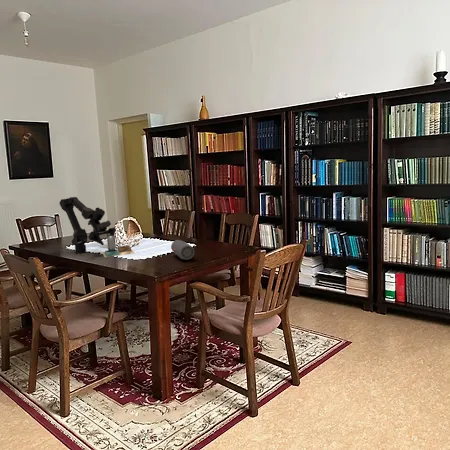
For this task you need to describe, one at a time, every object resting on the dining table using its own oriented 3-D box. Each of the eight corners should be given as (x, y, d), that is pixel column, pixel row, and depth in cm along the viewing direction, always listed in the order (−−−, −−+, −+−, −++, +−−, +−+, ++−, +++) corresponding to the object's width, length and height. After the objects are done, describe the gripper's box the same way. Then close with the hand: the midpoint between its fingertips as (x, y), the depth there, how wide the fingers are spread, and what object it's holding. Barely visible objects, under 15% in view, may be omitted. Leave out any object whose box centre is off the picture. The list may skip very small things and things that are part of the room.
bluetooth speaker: (170, 255, 267) (169, 239, 266) (185, 253, 271) (184, 238, 269) (180, 262, 246) (179, 245, 245) (195, 260, 250) (194, 243, 248)
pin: (107, 255, 271) (106, 236, 269) (109, 254, 275) (107, 235, 274) (114, 255, 271) (113, 236, 269) (116, 253, 275) (114, 235, 274)
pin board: (105, 258, 267) (104, 253, 267) (101, 253, 284) (101, 248, 283) (135, 255, 274) (135, 249, 274) (130, 250, 291) (130, 245, 290)
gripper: (89, 218, 266) (102, 237, 262) (113, 215, 281) (125, 232, 276) (82, 230, 272) (95, 249, 267) (106, 226, 287) (118, 244, 282)
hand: (109, 243), depth 273 cm, fingers open, 9 cm apart
